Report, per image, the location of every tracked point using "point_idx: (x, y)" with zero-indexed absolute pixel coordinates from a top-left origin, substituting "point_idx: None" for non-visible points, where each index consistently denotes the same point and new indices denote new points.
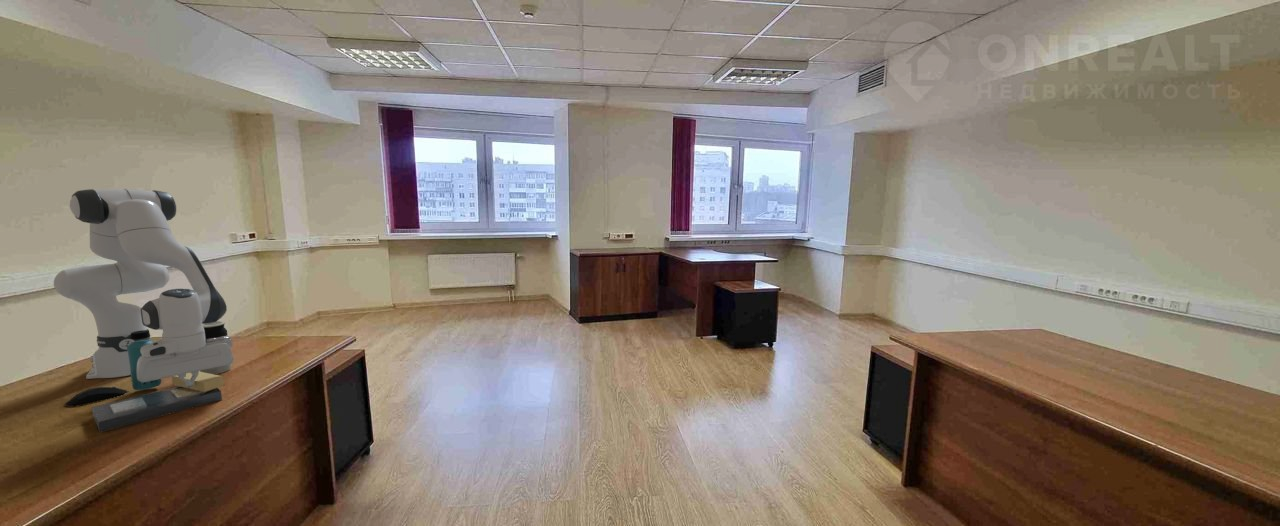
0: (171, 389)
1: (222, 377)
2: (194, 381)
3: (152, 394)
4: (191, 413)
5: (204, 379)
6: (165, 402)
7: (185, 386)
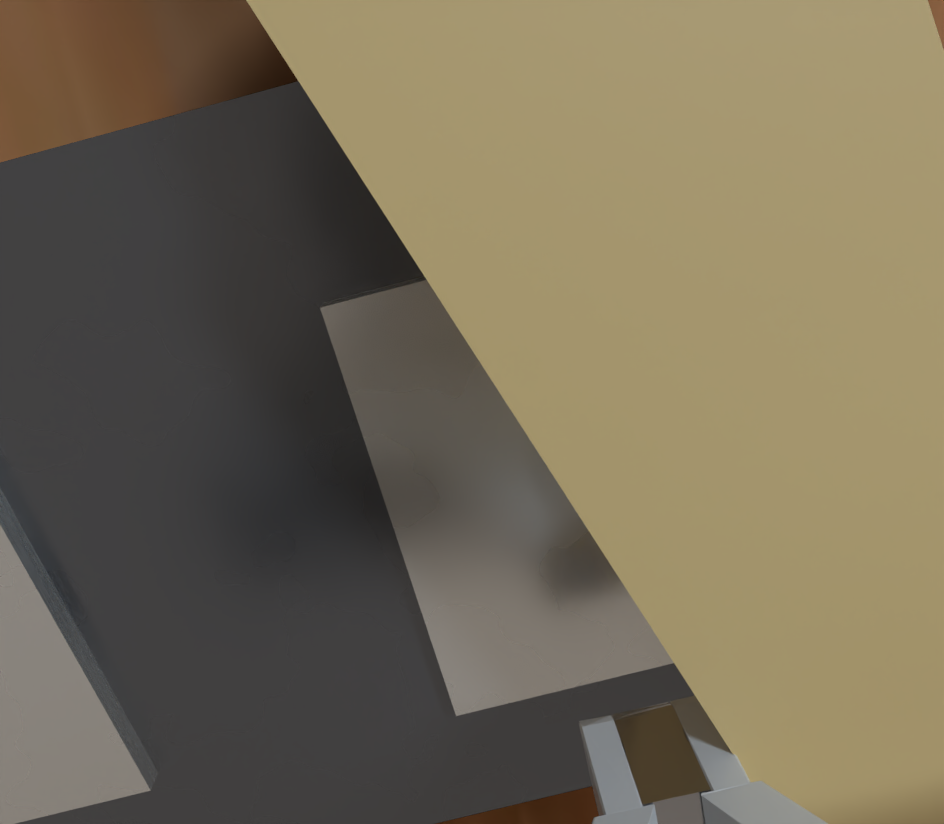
0: (305, 165)
1: None
2: (743, 763)
3: (52, 271)
4: (573, 812)
5: (904, 815)
6: (345, 764)
7: (587, 761)
